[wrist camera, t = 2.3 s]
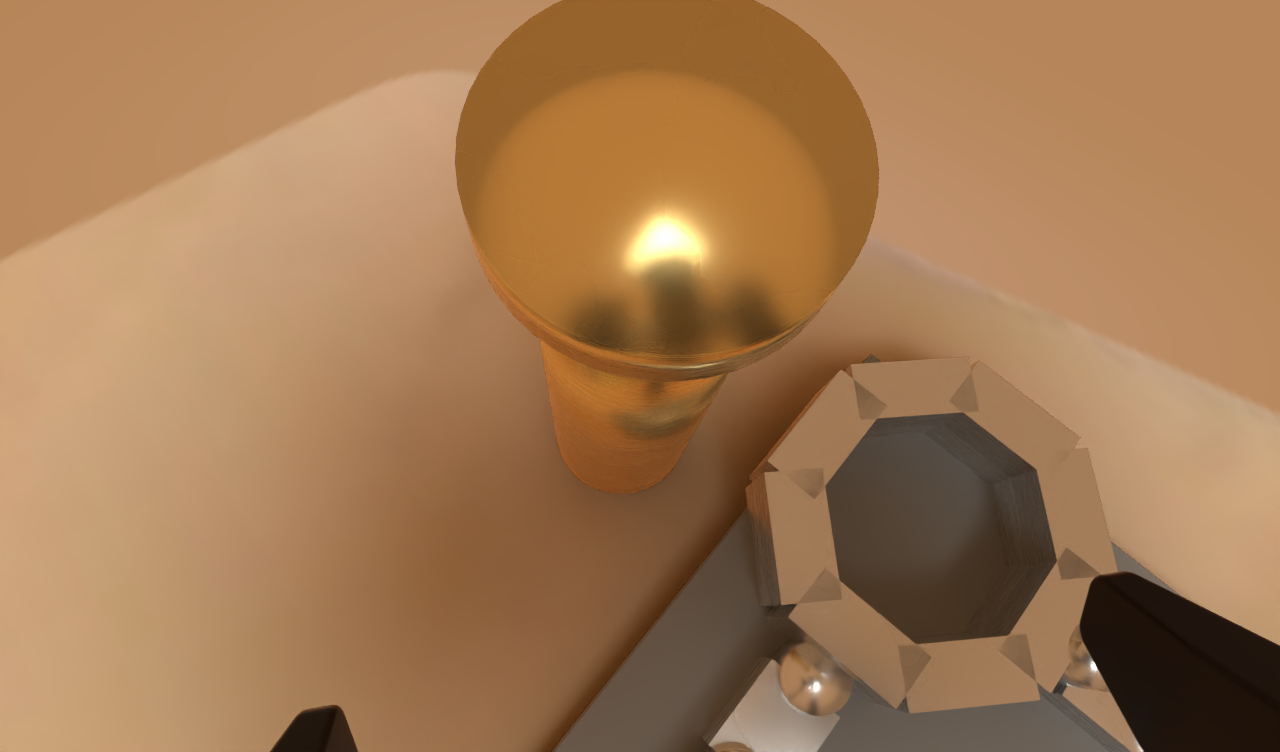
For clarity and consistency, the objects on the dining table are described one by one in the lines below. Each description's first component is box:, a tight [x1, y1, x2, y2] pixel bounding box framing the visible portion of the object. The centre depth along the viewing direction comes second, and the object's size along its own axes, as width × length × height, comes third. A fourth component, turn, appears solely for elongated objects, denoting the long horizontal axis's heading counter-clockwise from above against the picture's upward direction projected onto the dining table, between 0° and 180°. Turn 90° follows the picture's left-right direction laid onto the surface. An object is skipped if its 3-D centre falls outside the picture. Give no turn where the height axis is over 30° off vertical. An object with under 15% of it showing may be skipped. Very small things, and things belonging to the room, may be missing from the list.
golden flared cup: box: [455, 0, 879, 494], centre depth 16 cm, size 5×5×14 cm
